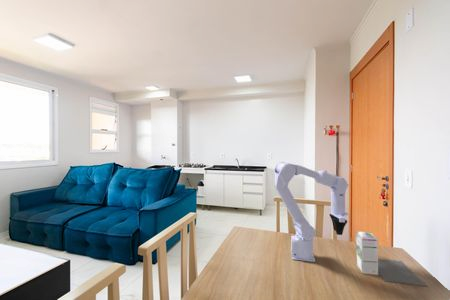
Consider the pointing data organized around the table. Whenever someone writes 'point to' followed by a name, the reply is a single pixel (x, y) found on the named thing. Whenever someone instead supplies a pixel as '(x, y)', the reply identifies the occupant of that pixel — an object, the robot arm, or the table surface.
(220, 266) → the table surface
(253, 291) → the table surface
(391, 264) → the mat
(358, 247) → the syrup box
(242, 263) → the table surface
